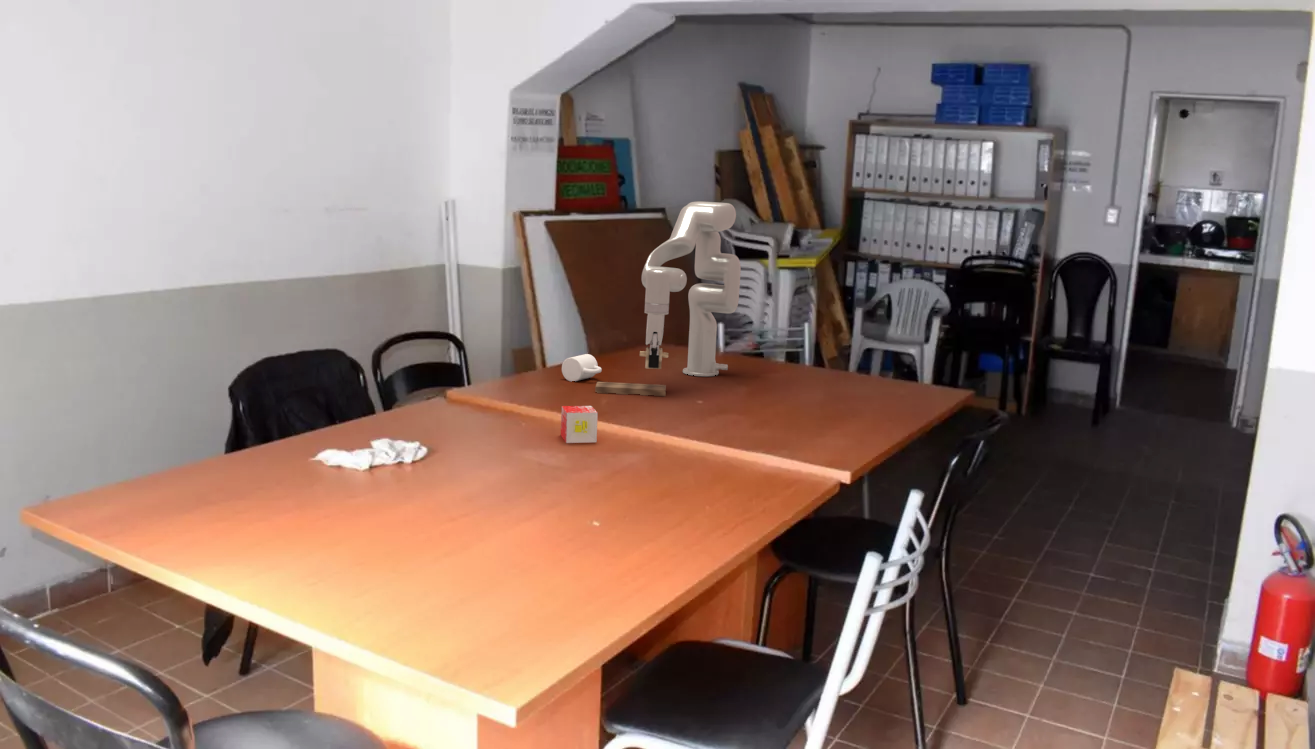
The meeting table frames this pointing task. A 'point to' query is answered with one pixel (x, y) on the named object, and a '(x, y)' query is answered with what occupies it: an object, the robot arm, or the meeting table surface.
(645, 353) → the beige block with peg
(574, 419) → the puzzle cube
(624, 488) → the meeting table surface
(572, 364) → the mug
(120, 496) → the meeting table surface
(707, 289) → the robot arm
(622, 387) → the board
